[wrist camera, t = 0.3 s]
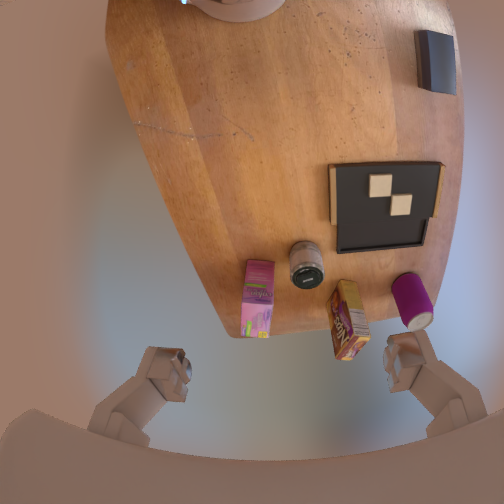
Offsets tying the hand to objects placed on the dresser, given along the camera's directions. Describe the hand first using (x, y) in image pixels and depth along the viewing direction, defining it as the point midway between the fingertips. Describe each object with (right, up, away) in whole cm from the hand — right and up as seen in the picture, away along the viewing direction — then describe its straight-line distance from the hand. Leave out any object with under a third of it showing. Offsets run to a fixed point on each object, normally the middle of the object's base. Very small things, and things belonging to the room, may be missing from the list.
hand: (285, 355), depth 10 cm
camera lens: (+9, +4, +45) cm, 47 cm away
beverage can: (+35, -3, +49) cm, 60 cm away
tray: (+24, +8, +41) cm, 48 cm away
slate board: (+23, +15, +35) cm, 45 cm away
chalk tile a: (+20, +15, +33) cm, 42 cm away
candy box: (+19, -5, +52) cm, 56 cm away
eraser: (+27, +34, +19) cm, 48 cm away
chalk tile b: (+25, +13, +35) cm, 45 cm away
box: (0, -1, +51) cm, 51 cm away
